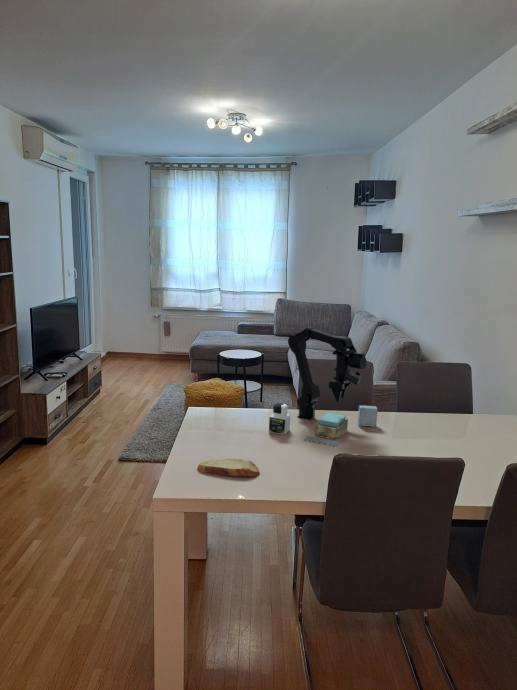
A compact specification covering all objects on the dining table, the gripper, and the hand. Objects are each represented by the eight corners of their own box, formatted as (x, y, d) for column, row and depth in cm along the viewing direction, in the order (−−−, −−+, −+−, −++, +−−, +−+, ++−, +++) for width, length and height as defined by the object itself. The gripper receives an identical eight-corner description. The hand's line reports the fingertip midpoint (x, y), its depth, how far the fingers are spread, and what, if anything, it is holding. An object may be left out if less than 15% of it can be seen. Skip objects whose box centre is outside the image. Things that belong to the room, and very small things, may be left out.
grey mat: (303, 440, 215) (303, 439, 215) (307, 436, 219) (307, 436, 219) (336, 446, 209) (336, 446, 209) (340, 442, 213) (340, 442, 213)
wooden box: (314, 435, 221) (315, 423, 220) (325, 426, 234) (325, 415, 233) (337, 439, 217) (338, 427, 216) (347, 430, 229) (347, 418, 229)
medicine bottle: (268, 432, 223) (269, 405, 221) (274, 427, 229) (275, 401, 227) (284, 435, 220) (285, 407, 218) (289, 430, 227) (291, 403, 225)
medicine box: (375, 424, 239) (376, 406, 237) (376, 427, 234) (377, 409, 233) (357, 423, 239) (358, 405, 238) (358, 426, 235) (359, 407, 233)
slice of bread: (193, 468, 184) (193, 458, 183) (235, 458, 195) (235, 448, 194) (221, 487, 170) (221, 477, 169) (264, 475, 181) (265, 465, 180)
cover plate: (319, 424, 222) (319, 419, 221) (327, 417, 232) (327, 413, 231) (337, 427, 218) (338, 423, 218) (345, 420, 228) (345, 416, 228)
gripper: (354, 372, 218) (352, 408, 221) (365, 364, 235) (363, 397, 237) (328, 368, 223) (326, 404, 225) (341, 361, 239) (339, 394, 242)
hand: (340, 400), depth 232 cm, fingers open, 6 cm apart
